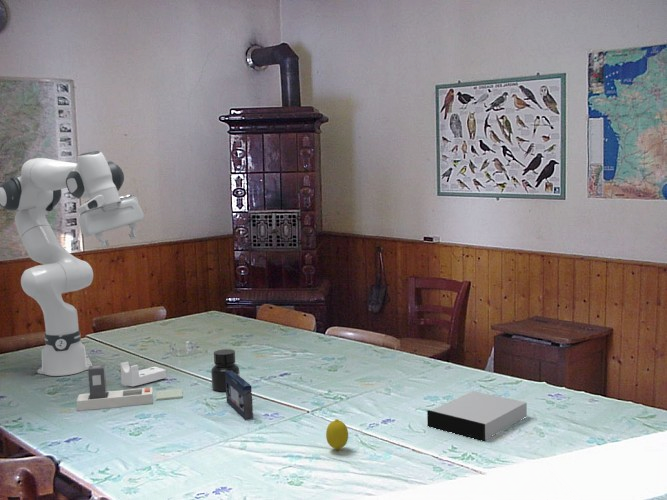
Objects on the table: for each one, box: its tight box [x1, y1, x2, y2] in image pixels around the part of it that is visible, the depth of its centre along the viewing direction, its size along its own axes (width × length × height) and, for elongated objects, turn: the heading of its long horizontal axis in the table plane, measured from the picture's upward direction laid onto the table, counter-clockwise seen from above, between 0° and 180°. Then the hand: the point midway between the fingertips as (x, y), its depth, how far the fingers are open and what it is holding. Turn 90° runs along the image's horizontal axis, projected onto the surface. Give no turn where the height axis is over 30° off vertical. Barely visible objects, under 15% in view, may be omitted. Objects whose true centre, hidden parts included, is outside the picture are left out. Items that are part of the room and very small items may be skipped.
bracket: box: [119, 361, 168, 387], centre depth 256 cm, size 13×7×8 cm, turn 134°
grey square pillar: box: [87, 363, 108, 399], centre depth 232 cm, size 4×4×10 cm
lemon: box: [325, 419, 349, 451], centre depth 192 cm, size 6×6×8 cm
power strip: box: [76, 386, 154, 412], centre depth 234 cm, size 22×7×4 cm, turn 102°
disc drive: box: [426, 390, 528, 442], centre depth 208 cm, size 18×22×5 cm
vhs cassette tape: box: [225, 370, 254, 421], centre depth 224 cm, size 18×3×10 cm, turn 23°
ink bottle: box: [210, 348, 241, 393], centre depth 246 cm, size 10×9×12 cm
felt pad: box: [155, 388, 183, 401], centre depth 241 cm, size 8×8×1 cm
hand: (120, 242), depth 241 cm, fingers open, 8 cm apart
